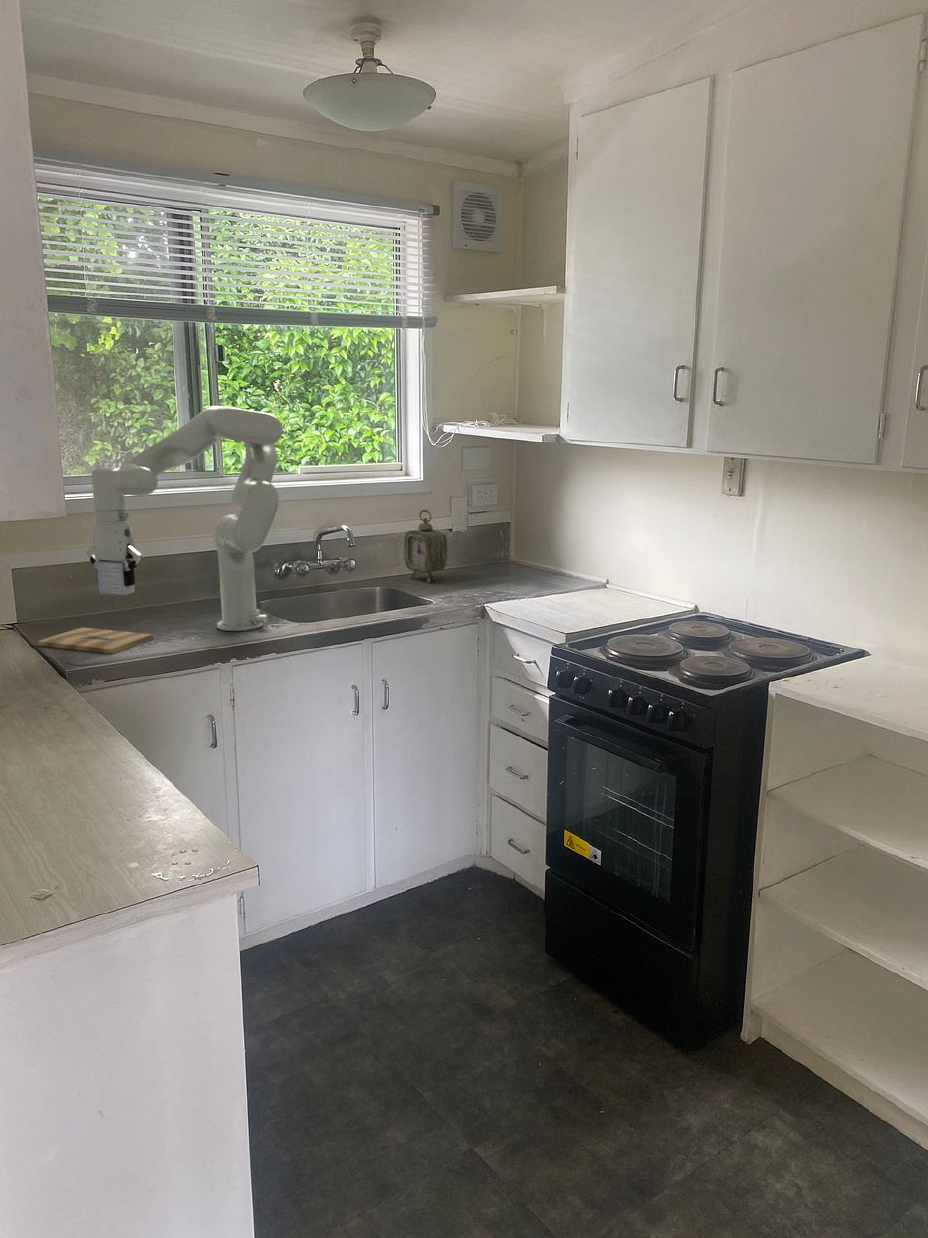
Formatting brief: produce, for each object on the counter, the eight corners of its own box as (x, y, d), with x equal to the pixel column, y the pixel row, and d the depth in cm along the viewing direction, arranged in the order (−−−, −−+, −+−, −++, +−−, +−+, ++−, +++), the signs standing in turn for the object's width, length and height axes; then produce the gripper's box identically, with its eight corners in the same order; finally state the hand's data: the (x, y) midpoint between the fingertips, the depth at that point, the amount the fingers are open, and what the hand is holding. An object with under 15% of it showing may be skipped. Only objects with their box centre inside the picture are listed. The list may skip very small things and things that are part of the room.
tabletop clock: (404, 578, 332) (403, 508, 327) (425, 575, 338) (424, 507, 332) (428, 584, 321) (427, 512, 315) (449, 581, 327) (448, 510, 321)
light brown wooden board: (153, 638, 249) (153, 634, 248) (112, 653, 234) (112, 649, 234) (81, 631, 257) (81, 627, 256) (37, 645, 242) (37, 640, 242)
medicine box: (135, 592, 241) (132, 559, 239) (124, 595, 237) (121, 562, 235) (110, 590, 243) (107, 558, 241) (98, 594, 239) (95, 561, 237)
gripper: (148, 516, 236) (153, 584, 240) (94, 513, 242) (99, 579, 246) (128, 519, 229) (133, 589, 233) (72, 516, 235) (78, 584, 239)
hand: (116, 583), depth 239 cm, fingers closed on medicine box, 8 cm apart
